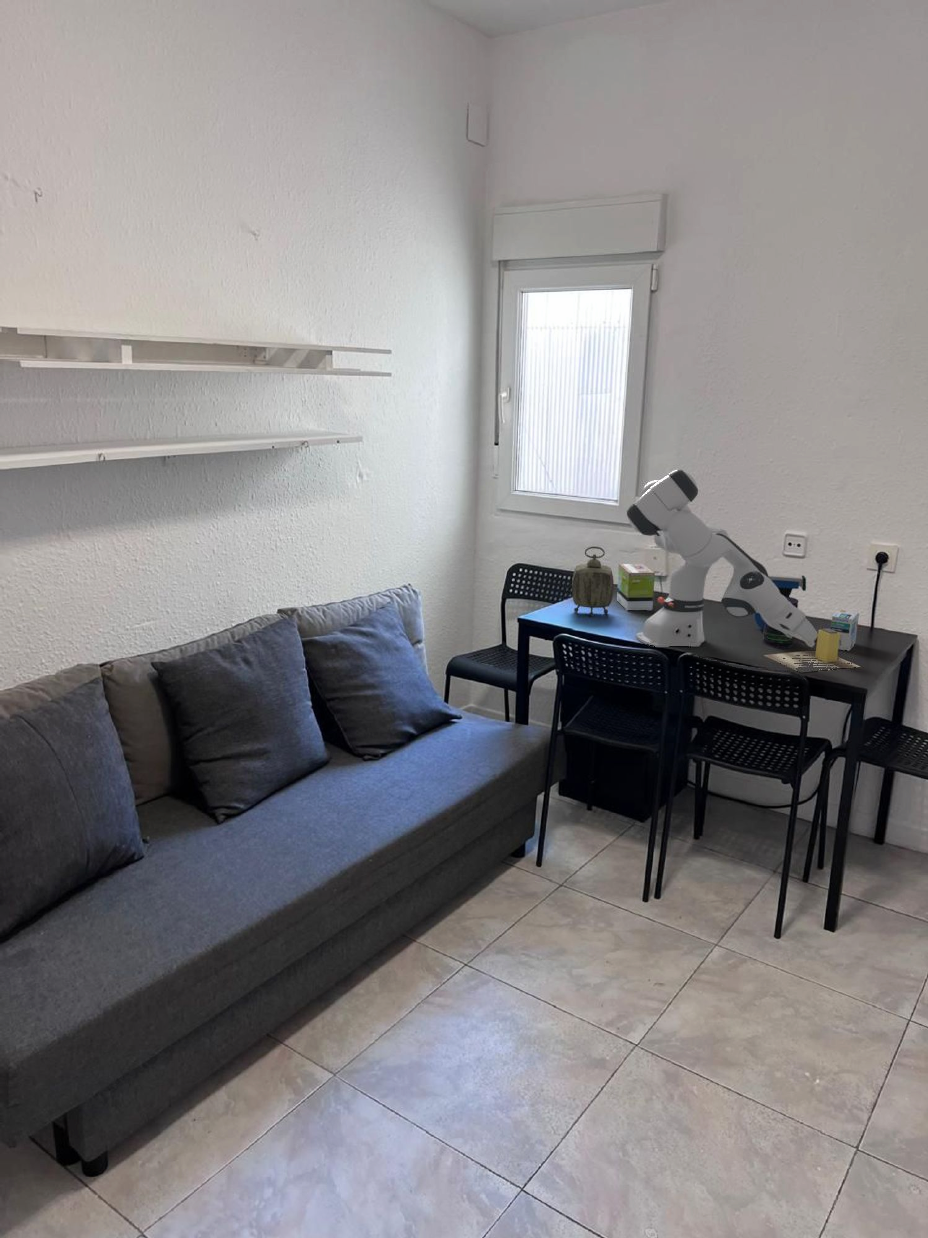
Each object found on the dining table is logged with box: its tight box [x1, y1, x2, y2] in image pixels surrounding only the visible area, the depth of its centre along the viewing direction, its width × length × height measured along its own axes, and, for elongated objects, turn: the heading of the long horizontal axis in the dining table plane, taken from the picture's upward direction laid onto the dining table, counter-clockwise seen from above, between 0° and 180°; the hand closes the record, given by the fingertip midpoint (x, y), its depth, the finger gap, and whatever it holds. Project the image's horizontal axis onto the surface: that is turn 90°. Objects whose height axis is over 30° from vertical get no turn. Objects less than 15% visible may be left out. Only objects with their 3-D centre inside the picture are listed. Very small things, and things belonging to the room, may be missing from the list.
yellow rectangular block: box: [815, 627, 840, 662], centre depth 291 cm, size 4×5×9 cm
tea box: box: [616, 563, 656, 611], centre depth 350 cm, size 15×10×15 cm
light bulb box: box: [830, 609, 860, 652], centre depth 306 cm, size 11×7×11 cm, turn 148°
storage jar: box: [762, 596, 799, 649], centre depth 307 cm, size 10×10×15 cm
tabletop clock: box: [571, 546, 615, 617], centre depth 335 cm, size 14×9×25 cm, turn 84°
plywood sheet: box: [763, 650, 861, 672], centre depth 291 cm, size 22×18×1 cm
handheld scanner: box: [753, 574, 807, 631], centre depth 321 cm, size 5×16×20 cm, turn 78°
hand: (801, 640), depth 288 cm, fingers open, 8 cm apart
